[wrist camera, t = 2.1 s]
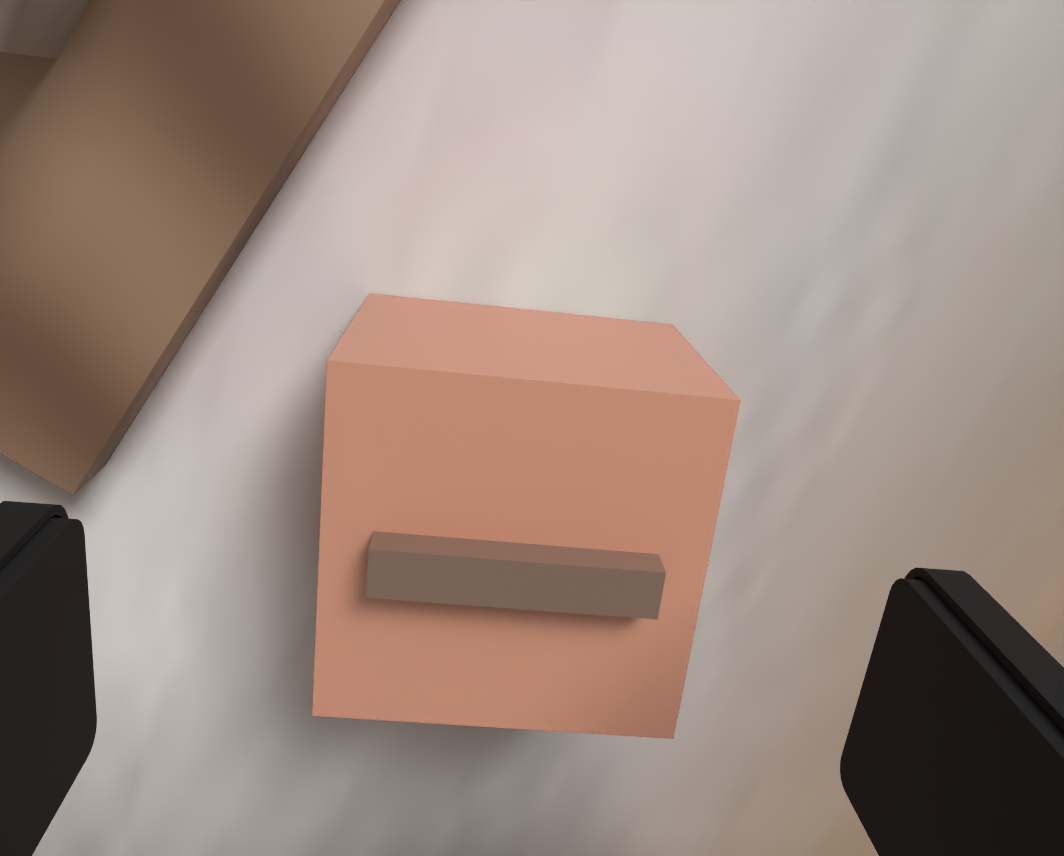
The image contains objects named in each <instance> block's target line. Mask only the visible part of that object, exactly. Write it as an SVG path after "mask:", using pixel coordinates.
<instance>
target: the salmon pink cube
mask: <svg viewBox="0 0 1064 856" xmlns="http://www.w3.org/2000/svg"><path fill="white" fill-rule="evenodd" d="M739 405H740V399H739V398H738V397H737V396H736V395H735V393H734V392H733V391H732V390H731V389H730V388H729V387H728V386H727V385H726V383H725V382H724V381H723V380H722V379H721V378H720V377H719V376H718V374H717V373H716V372H715V371H714V370H713V369H712V368H711V367H710V366H709V364H708V363H707V362H706V361H705V360H704V359H703V358H702V357H701V355H700V354H699V353H698V352H697V351H696V350H695V349H694V348H693V347H692V345H691V344H690V343H689V342H688V341H687V340H686V339H685V338H684V336H683V335H682V334H681V333H680V332H679V331H678V330H677V329H676V328H675V326H674V325H670V324H660V323H650V322H640V321H631V320H621V319H611V318H601V317H592V316H582V315H572V314H563V313H553V312H543V311H533V310H524V309H514V308H504V307H495V306H485V305H475V304H465V303H456V302H446V301H436V300H427V299H417V298H407V297H397V296H388V295H378V294H369V296H368V297H367V299H366V300H365V302H364V303H363V305H362V306H361V308H360V310H359V311H358V313H357V314H356V316H355V317H354V319H353V320H352V322H351V324H350V325H349V327H348V328H347V330H346V331H345V333H344V334H343V336H342V338H341V339H340V341H339V342H338V344H337V345H336V347H335V348H334V350H333V352H332V353H331V355H330V356H329V358H328V359H327V371H326V395H325V419H324V443H323V467H322V491H321V515H320V540H319V564H318V588H317V612H316V636H315V660H314V684H313V708H312V716H322V717H338V718H354V719H369V720H385V721H401V722H417V723H432V724H448V725H464V726H480V727H495V728H511V729H527V730H543V731H559V732H574V733H590V734H606V735H622V736H637V737H653V738H669V739H673V738H674V733H675V728H676V723H677V718H678V713H679V708H680V702H681V697H682V692H683V687H684V682H685V677H686V672H687V667H688V662H689V657H690V652H691V647H692V642H693V637H694V632H695V627H696V622H697V617H698V612H699V607H700V601H701V596H702V591H703V586H704V581H705V576H706V571H707V566H708V561H709V556H710V551H711V546H712V541H713V536H714V531H715V526H716V521H717V516H718V511H719V506H720V501H721V495H722V490H723V485H724V480H725V475H726V470H727V465H728V460H729V455H730V450H731V445H732V440H733V435H734V430H735V425H736V420H737V415H738V410H739Z"/></svg>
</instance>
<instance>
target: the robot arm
mask: <svg viewBox="0 0 1064 856" xmlns="http://www.w3.org/2000/svg"><path fill="white" fill-rule="evenodd" d="M96 726H97V716H96V700H95V685H94V670H93V655H92V640H91V625H90V610H89V595H88V580H87V565H86V550H85V535H84V528H83V525H82V523H81V522H80V521H79V520H78V519H68V515H67V513H66V510H65V509H64V508H63V507H62V506H61V505H52V504H38V503H25V502H11V501H3V502H2V503H0V856H32V854H33V853H34V851H35V849H36V847H37V846H38V844H39V842H40V840H41V838H42V837H43V835H44V833H45V831H46V830H47V828H48V826H49V824H50V823H51V821H52V819H53V817H54V816H55V814H56V812H57V810H58V809H59V807H60V805H61V803H62V801H63V800H64V798H65V796H66V794H67V793H68V791H69V789H70V787H71V786H72V784H73V782H74V780H75V779H76V777H77V775H78V773H79V772H80V770H81V768H82V766H83V764H84V763H85V761H86V759H87V757H88V755H89V753H90V751H91V748H92V745H93V742H94V738H95V734H96ZM840 773H841V780H842V785H843V787H844V790H845V792H846V794H847V796H848V798H849V800H850V802H851V804H852V806H853V807H854V809H855V811H856V813H857V815H858V817H859V819H860V821H861V823H862V825H863V826H864V828H865V830H866V832H867V834H868V836H869V838H870V840H871V842H872V843H873V845H874V847H875V849H876V851H877V853H878V855H879V856H1064V667H1062V666H1061V665H1060V664H1059V663H1058V662H1057V661H1056V660H1055V659H1054V658H1053V657H1052V656H1051V655H1050V654H1049V653H1048V652H1047V651H1046V650H1045V649H1044V648H1043V647H1042V646H1041V645H1040V644H1039V643H1038V642H1037V641H1036V640H1035V639H1034V638H1033V637H1032V636H1031V635H1030V634H1029V633H1028V632H1027V631H1026V630H1025V629H1024V628H1023V627H1022V626H1021V625H1020V624H1019V623H1018V622H1017V621H1016V620H1015V619H1014V618H1013V617H1012V616H1011V615H1010V614H1009V613H1008V612H1007V611H1006V610H1005V609H1004V608H1003V607H1002V606H1001V605H1000V604H999V603H998V602H997V601H996V600H995V599H994V598H993V597H992V596H991V595H990V594H989V593H988V592H987V591H985V590H984V589H983V588H982V587H981V586H980V585H979V584H978V583H977V582H976V581H975V580H974V579H973V578H972V577H971V576H970V575H969V574H967V573H966V572H964V571H954V570H940V569H927V568H915V569H913V570H911V571H910V572H909V573H908V574H907V575H906V577H905V579H901V578H900V579H898V580H896V581H895V582H894V584H893V585H892V587H891V590H890V593H889V596H888V600H887V603H886V606H885V610H884V613H883V617H882V620H881V623H880V627H879V630H878V634H877V637H876V640H875V644H874V647H873V651H872V654H871V657H870V661H869V664H868V668H867V671H866V674H865V678H864V681H863V685H862V688H861V691H860V695H859V698H858V702H857V705H856V708H855V712H854V715H853V719H852V722H851V725H850V729H849V732H848V736H847V739H846V743H845V746H844V749H843V753H842V757H841V762H840Z"/></svg>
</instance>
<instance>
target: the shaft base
mask: <svg viewBox="0 0 1064 856" xmlns="http://www.w3.org/2000/svg"><path fill="white" fill-rule="evenodd" d="M399 1H400V0H0V454H2V455H4V456H5V457H7V458H9V459H11V460H12V461H14V462H16V463H18V464H19V465H21V466H23V467H24V468H26V469H28V470H30V471H31V472H33V473H35V474H37V475H38V476H40V477H42V478H44V479H45V480H47V481H49V482H51V483H52V484H54V485H56V486H57V487H59V488H61V489H63V490H64V491H66V492H68V493H70V494H71V495H73V494H75V493H76V492H77V491H78V490H79V489H80V488H81V487H82V486H83V485H84V484H85V483H86V482H88V481H89V480H90V479H91V478H92V477H93V476H94V475H95V474H96V473H97V472H98V471H99V470H101V469H102V468H103V467H104V466H105V464H106V463H107V461H108V460H109V458H110V456H111V455H112V453H113V452H114V450H115V449H116V447H117V445H118V444H119V442H120V441H121V439H122V438H123V436H124V434H125V433H126V431H127V430H128V428H129V427H130V425H131V423H132V422H133V420H134V419H135V417H136V415H137V414H138V412H139V411H140V409H141V408H142V406H143V404H144V403H145V401H146V400H147V398H148V397H149V395H150V393H151V392H152V390H153V389H154V387H155V386H156V384H157V382H158V381H159V379H160V378H161V376H162V375H163V373H164V371H165V370H166V368H167V367H168V365H169V364H170V362H171V360H172V359H173V357H174V356H175V354H176V353H177V351H178V349H179V348H180V346H181V345H182V343H183V341H184V340H185V338H186V337H187V335H188V334H189V332H190V330H191V329H192V327H193V326H194V324H195V323H196V321H197V319H198V318H199V316H200V315H201V313H202V312H203V310H204V308H205V307H206V305H207V304H208V302H209V301H210V299H211V297H212V296H213V294H214V293H215V291H216V290H217V288H218V286H219V285H220V283H221V282H222V280H223V279H224V277H225V275H226V274H227V272H228V271H229V269H230V267H231V266H232V264H233V263H234V261H235V260H236V258H237V256H238V255H239V253H240V252H241V250H242V249H243V247H244V245H245V244H246V242H247V241H248V239H249V238H250V236H251V234H252V233H253V231H254V230H255V228H256V227H257V225H258V223H259V222H260V220H261V219H262V217H263V216H264V214H265V212H266V211H267V209H268V208H269V206H270V205H271V203H272V201H273V200H274V198H275V197H276V195H277V193H278V192H279V190H280V189H281V187H282V186H283V184H284V182H285V181H286V179H287V178H288V176H289V175H290V173H291V171H292V170H293V168H294V167H295V165H296V164H297V162H298V160H299V159H300V157H301V156H302V154H303V153H304V151H305V149H306V148H307V146H308V145H309V143H310V142H311V140H312V138H313V137H314V135H315V134H316V132H317V131H318V129H319V127H320V126H321V124H322V123H323V121H324V119H325V118H326V116H327V115H328V113H329V112H330V110H331V108H332V107H333V105H334V104H335V102H336V101H337V99H338V97H339V96H340V94H341V93H342V91H343V90H344V88H345V86H346V85H347V83H348V82H349V80H350V79H351V77H352V75H353V74H354V72H355V71H356V69H357V68H358V66H359V64H360V63H361V61H362V60H363V58H364V57H365V55H366V53H367V52H368V50H369V49H370V47H371V45H372V44H373V42H374V41H375V39H376V38H377V36H378V34H379V33H380V31H381V30H382V28H383V27H384V25H385V23H386V22H387V20H388V19H389V17H390V16H391V14H392V12H393V11H394V9H395V8H396V6H397V5H398V3H399Z"/></svg>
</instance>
